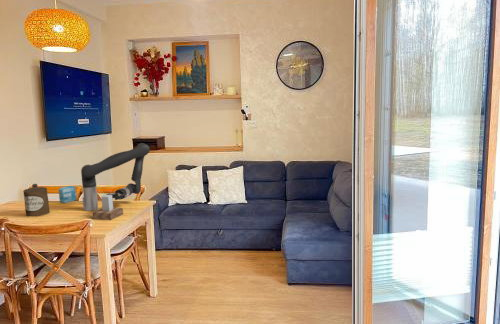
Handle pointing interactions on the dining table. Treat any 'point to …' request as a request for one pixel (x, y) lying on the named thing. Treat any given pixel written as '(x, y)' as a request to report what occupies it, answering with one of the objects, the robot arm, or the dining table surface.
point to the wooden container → (36, 201)
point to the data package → (67, 194)
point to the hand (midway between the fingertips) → (109, 198)
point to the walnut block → (107, 214)
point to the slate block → (107, 203)
